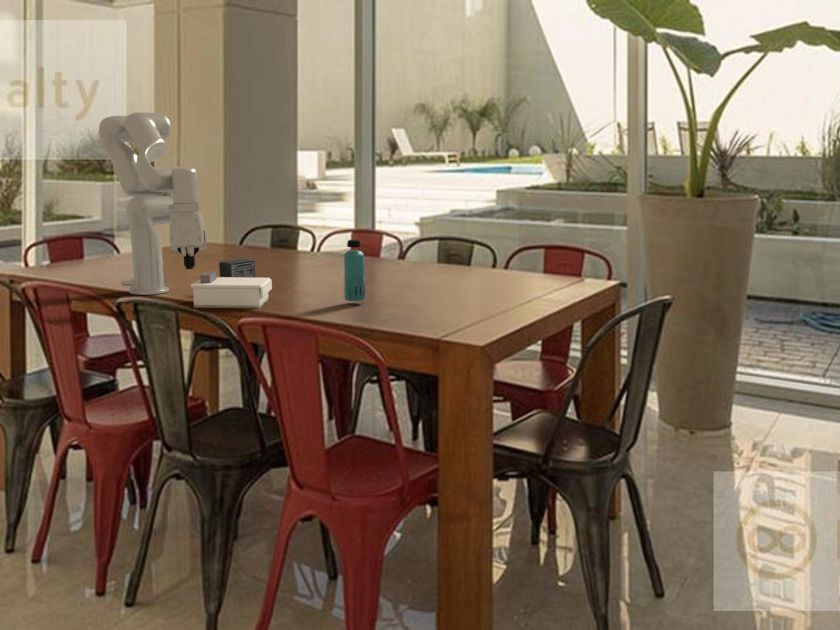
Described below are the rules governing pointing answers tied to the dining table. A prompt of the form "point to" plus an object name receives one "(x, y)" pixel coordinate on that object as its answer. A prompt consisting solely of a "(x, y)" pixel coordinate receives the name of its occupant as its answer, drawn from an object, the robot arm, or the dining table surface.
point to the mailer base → (228, 297)
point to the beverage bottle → (354, 273)
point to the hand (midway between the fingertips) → (189, 268)
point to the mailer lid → (232, 282)
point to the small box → (237, 268)
